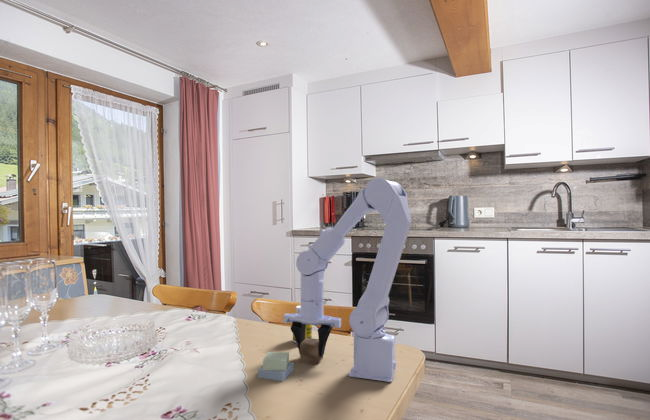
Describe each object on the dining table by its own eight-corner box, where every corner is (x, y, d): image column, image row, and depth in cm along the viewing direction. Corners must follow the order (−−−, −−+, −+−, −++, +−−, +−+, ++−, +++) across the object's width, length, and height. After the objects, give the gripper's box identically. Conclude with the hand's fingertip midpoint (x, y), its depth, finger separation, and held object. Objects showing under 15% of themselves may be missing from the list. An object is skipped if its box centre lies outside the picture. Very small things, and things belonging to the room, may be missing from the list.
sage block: (288, 361, 86) (288, 352, 86) (285, 370, 81) (285, 360, 81) (267, 361, 86) (267, 351, 86) (262, 370, 81) (263, 360, 81)
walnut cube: (323, 357, 93) (323, 339, 93) (317, 364, 89) (317, 345, 89) (306, 355, 95) (306, 337, 95) (300, 362, 90) (300, 343, 90)
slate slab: (293, 372, 86) (293, 362, 86) (282, 383, 80) (283, 373, 80) (269, 368, 87) (269, 359, 87) (257, 379, 82) (258, 369, 82)
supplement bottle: (309, 345, 102) (309, 309, 102) (290, 343, 103) (290, 308, 103) (313, 338, 107) (314, 304, 108) (295, 337, 108) (296, 303, 109)
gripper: (344, 297, 94) (344, 351, 93) (291, 293, 98) (290, 345, 98) (336, 303, 87) (336, 362, 87) (280, 299, 91) (279, 354, 91)
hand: (311, 353), depth 92 cm, fingers closed on walnut cube, 4 cm apart
